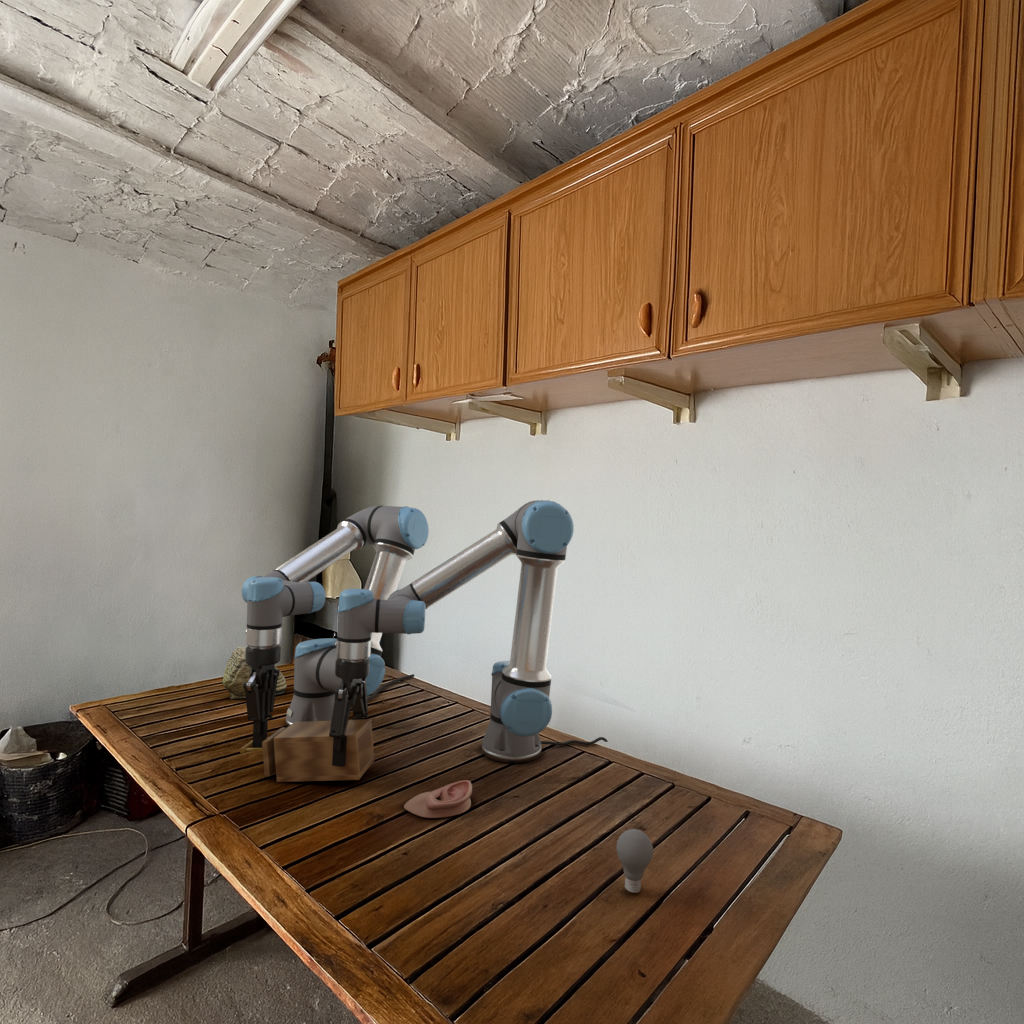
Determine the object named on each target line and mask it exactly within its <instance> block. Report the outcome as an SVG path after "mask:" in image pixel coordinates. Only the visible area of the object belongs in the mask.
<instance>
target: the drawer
mask: <svg viewBox="0 0 1024 1024" xmlns="http://www.w3.org/2000/svg"><path fill="white" fill-rule="evenodd" d="M286 728H287V727H281V728H279V729H278V730H276V731H275V732H273V733H272V734H271V735H270V736H267V739H266V740H264V741H263V742H262V747H263V748H252V746H253V739H252V740H250V741H249V742H247V743H246V744H244V745H243V746H242V747H241V748H239V753H240V754H245V753H246V752H262V757H263V758H262V760H263V773H264V774H263V775H264V777H271V776H272V775H273V774H274V773H276V764H275V751H274V737H276V736H277V735H278V734H279V733H281V732H282V731H283V730H285V729H286Z"/></svg>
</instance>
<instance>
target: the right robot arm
mask: <svg viewBox="0 0 1024 1024" xmlns="http://www.w3.org/2000/svg"><path fill="white" fill-rule="evenodd" d="M574 527H575V525H574V521H573V518H572V515H571V514H570V512H569V511H568V510H567V508H565V507H564V506H563V505H561V504H560V503H558V502H556V501H553V500H550V499H548V500H547V499H546V500H543V499H541V500H539V499H538V500H537V499H536V500H530V501H528V502H525V504H523V505H522V506H520V507H519V508H518V509H516V510H515V511H514V512H512V513H510V515H508V516H507V517H506V518H504V519H503V520H501V521H500V522H498V523H497V524H496V529H495V530H493V531H491V532H489V533H488V534H487V535H485V536H483V537H482V538H480V539H479V540H477V541H475V542H474V543H472V544H471V545H469V546H467V547H466V548H464V549H462V550H461V551H460V552H458V553H456V554H455V555H453V556H452V557H450V558H448V559H447V560H445V561H444V562H442V563H440V564H439V565H437V566H436V567H434V568H432V569H431V570H430V571H427V572H426V573H424V574H422V576H420V577H418V578H417V579H414V581H412V582H411V583H409V584H407V585H406V586H404V587H402V588H400V589H397V590H396V591H395V592H393V593H392V594H391V595H390V596H389V597H388V599H387V600H380V599H374V597H373V592H372V591H371V590H367V589H364V588H347V589H344V590H342V591H341V592H340V593H339V599H338V608H337V622H336V623H337V625H336V626H337V627H336V639H337V642H336V643H335V646H337V649H336V657H337V658H338V659H337V660H336V663H335V675H336V676H337V677H339V678H341V679H342V684H341V686H340V689H336V690H335V702H334V708H333V714H332V721H331V727H330V733H329V736H330V737H333V757H332V766H341V767H344V766H345V762H346V742H347V736H345V733H346V729H347V724H348V720H350V715H351V711H352V714H353V717H351V720H359V719H368V717H369V712H368V711H369V704H368V701H367V698H368V696H367V686H366V681H367V676H368V675H369V667H370V660H369V659H368V658H369V657H370V652H371V633H382V634H399V635H400V634H401V635H402V634H403V635H415V634H422V633H423V632H424V631H425V629H426V628H425V627H426V610H427V609H428V608H430V607H431V606H433V605H435V604H436V603H438V602H439V601H441V600H443V599H444V598H446V597H447V596H449V595H450V594H452V593H454V592H455V591H457V590H458V589H460V588H462V587H463V586H465V585H467V584H468V583H470V582H471V581H473V580H475V579H476V578H478V577H479V576H481V575H483V574H484V573H486V572H487V571H488V570H490V569H492V568H494V567H496V566H497V565H499V564H500V563H501V562H503V561H505V560H507V559H508V558H509V557H511V556H516V557H517V559H518V560H519V561H520V563H521V565H520V572H519V582H518V591H517V598H516V606H515V616H514V624H513V632H512V642H511V649H510V658H509V660H501V661H497V662H494V664H492V671H491V672H490V673H491V674H490V675H491V690H490V691H491V692H490V717H489V722H488V725H487V727H486V731H485V733H484V736H483V739H482V742H481V752H482V754H483V756H485V757H487V758H488V759H490V760H493V761H496V762H500V763H507V764H522V763H529V762H532V761H535V760H537V759H538V758H539V757H540V756H541V755H542V745H551V746H566V745H570V744H578V745H584V746H590V745H595V744H597V743H598V742H599V741H603V742H604V743H608V742H609V741H608V740H607V738H605V737H603V736H599V737H597V738H595V739H593V740H592V741H591V740H590V741H582V740H575V739H572V740H571V739H570V740H567V741H562V742H557V741H548V740H547V741H546V740H541V738H540V735H539V733H541V732H543V731H544V730H546V728H547V727H548V725H549V724H550V722H551V720H552V716H553V706H552V705H553V704H552V701H551V699H550V694H551V684H552V675H551V673H550V672H549V671H548V668H547V663H548V655H549V646H550V637H551V628H552V619H553V611H554V605H555V604H554V603H555V595H556V588H557V587H556V586H557V578H558V569H559V567H560V566H561V565H563V564H564V563H565V562H566V559H567V549H568V545H569V544H570V543H571V541H572V538H573V536H574V531H575V528H574Z"/></svg>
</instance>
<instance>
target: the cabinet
mask: <svg viewBox="0 0 1024 1024" xmlns="http://www.w3.org/2000/svg"><path fill="white" fill-rule="evenodd" d="M330 727H331V721H306V722H294V723H293V724H291V725H290V726H289V727H287V726H286V727H285V728H286V729H285V730H283V731H282V732H281V733H279V734H278V735H277V736H276V737H274V751H275V764H276V771H275V774H276V775H275V776H276V782H277V783H291V782H292V783H293V782H326V781H329V782H331V781H360V779H361V778H362V777H363V775H364V774H365V773H366V772H367V771H368V769H370V767H371V766H372V764H373V763H374V762H375V753H374V751H375V750H374V738H373V724H372V719H371V718H363V719H359V720H352V719H349V720H348V724H347V729H346V733H345V736H347V742H346V762H345V766H344V767H341V766H332V757H333V737H330V736H329V733H330Z"/></svg>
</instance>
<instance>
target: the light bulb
mask: <svg viewBox="0 0 1024 1024" xmlns="http://www.w3.org/2000/svg"><path fill="white" fill-rule="evenodd" d="M615 849H616V854H617V857H618V859H619V861H620V863H621V865H622V867H623V873H624V874H623V875H624V876H625V878H624V888H625V890H627V891H628V892H630V893H634V894H635V893H639V892H640V891H641V889H642V887H641V886H642V879H643V877H644V875H645V871H646V868H647V867H648V866H649V864H650V863H651V861H652V859H653V855H654V847H653V843H652V841H651V838H649V836H648V835H647V834H646V833H645V832H643V831H642V830H641V829H636V828H629V829H627V830H625V831H623V832H622V833H621V834H620V835H619V837H618V839H617V841H616V847H615Z"/></svg>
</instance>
